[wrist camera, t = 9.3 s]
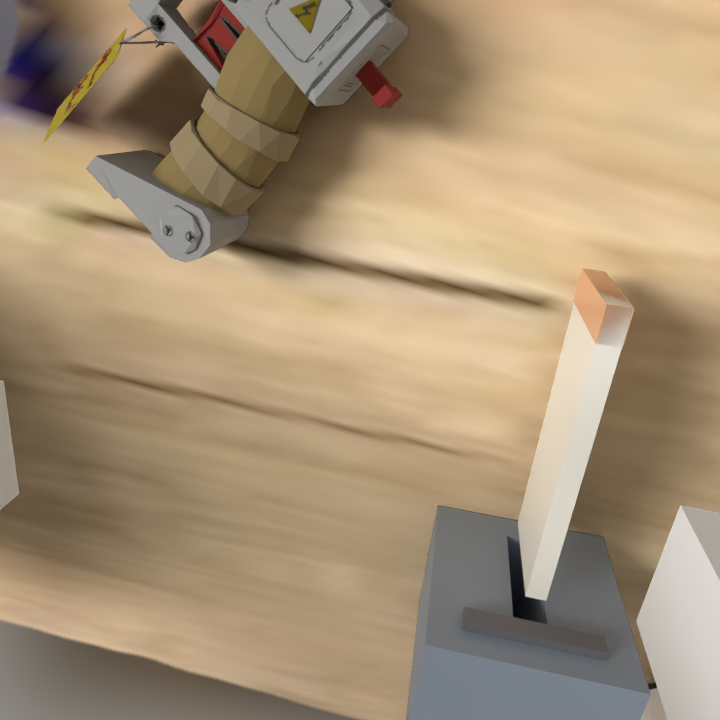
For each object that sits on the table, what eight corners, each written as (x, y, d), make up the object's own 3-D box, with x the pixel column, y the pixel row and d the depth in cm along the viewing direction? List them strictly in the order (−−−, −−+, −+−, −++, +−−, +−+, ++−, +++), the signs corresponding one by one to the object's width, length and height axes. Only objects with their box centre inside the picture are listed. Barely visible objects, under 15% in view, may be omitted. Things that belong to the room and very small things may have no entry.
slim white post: (516, 522, 42) (524, 596, 36) (582, 268, 35) (605, 304, 29) (536, 526, 42) (547, 600, 36) (605, 271, 35) (634, 308, 28)
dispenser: (418, 606, 49) (401, 763, 38) (439, 498, 45) (426, 637, 33) (569, 638, 48) (601, 812, 36) (605, 530, 44) (654, 686, 32)
